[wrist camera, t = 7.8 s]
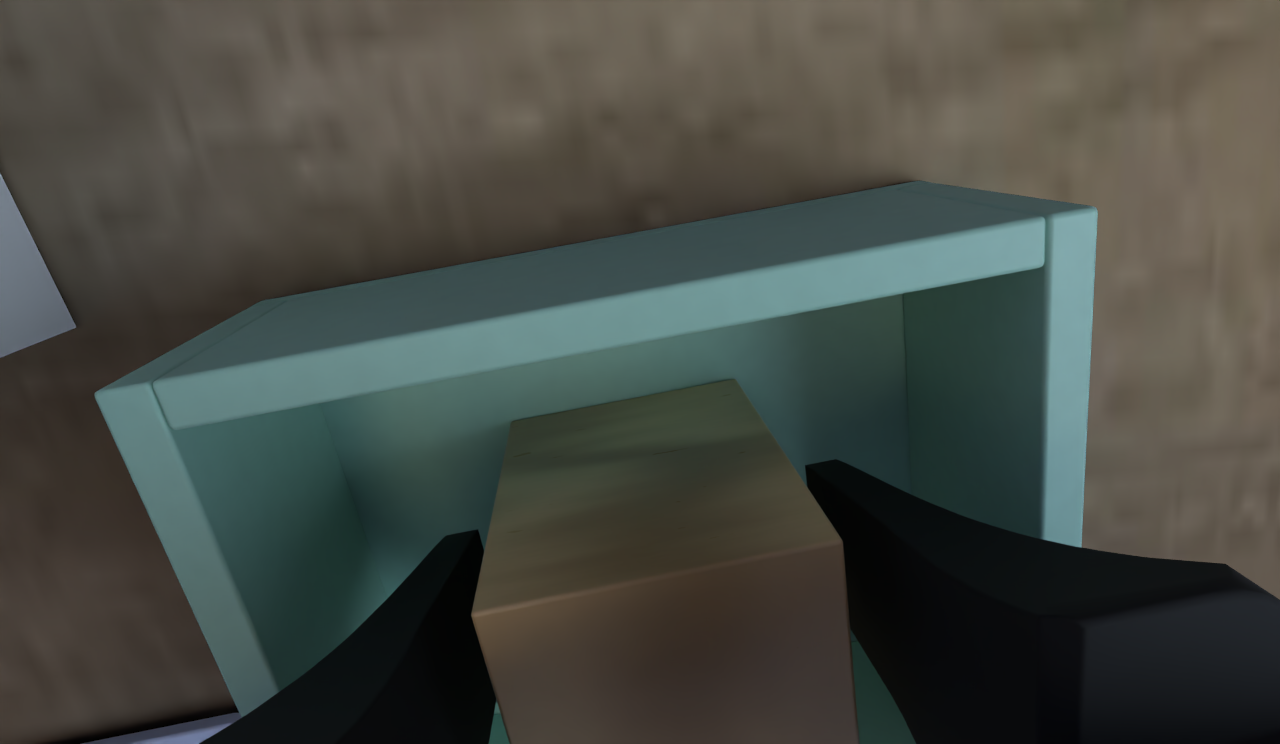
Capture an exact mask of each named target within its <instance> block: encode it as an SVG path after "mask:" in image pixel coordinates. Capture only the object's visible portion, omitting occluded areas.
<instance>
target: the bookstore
mask: <svg viewBox="0 0 1280 744" xmlns="http://www.w3.org/2000/svg"><path fill="white" fill-rule="evenodd" d="M74 328H76V325H75V323H74V321H73V319H72V317H71V315H70V313H69V311H68V309H67V307H66V305H65V303H64V301H63V299H62V297H61V295H60V293H59V291H58V289H57V287H56V285H55V283H54V281H53V279H52V277H51V275H50V273H49V271H48V269H47V267H46V265H45V262H44V260H43V258H42V256H41V254H40V252H39V250H38V248H37V246H36V244H35V242H34V240H33V238H32V236H31V234H30V232H29V230H28V228H27V226H26V224H25V222H24V220H23V218H22V216H21V214H20V212H19V210H18V208H17V206H16V204H15V202H14V200H13V198H12V196H11V194H10V192H9V190H8V188H7V186H6V184H5V182H4V180H3V178H2V176H1V174H0V358H1V357H4V356H6V355H9V354H11V353H14V352H16V351H19V350H21V349H24V348H26V347H29V346H31V345H34V344H36V343H39V342H41V341H44V340H46V339H49V338H51V337H54V336H56V335H59V334H61V333H64V332H66V331H69V330H71V329H74Z"/></svg>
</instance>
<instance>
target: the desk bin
mask: <svg viewBox="0 0 1280 744" xmlns="http://www.w3.org/2000/svg"><path fill="white" fill-rule="evenodd" d="M1097 216H1098V212H1097V209H1096V208H1095V207H1093V206H1088V205H1081V204H1074V203H1067V202H1060V201H1053V200H1046V199H1040V198H1033V197H1026V196H1019V195H1012V194H1005V193H998V192H991V191H985V190H978V189H971V188H964V187H957V186H950V185H943V184H936V183H930V182H926V181H914V182H908V183H903V184H897V185H892V186H886V187H881V188H875V189H870V190H864V191H859V192H854V193H848V194H843V195H837V196H832V197H826V198H821V199H815V200H810V201H804V202H799V203H793V204H788V205H782V206H777V207H772V208H766V209H761V210H755V211H750V212H744V213H739V214H733V215H728V216H722V217H717V218H711V219H706V220H701V221H695V222H690V223H684V224H679V225H673V226H668V227H662V228H657V229H651V230H646V231H640V232H635V233H629V234H624V235H619V236H613V237H608V238H602V239H597V240H591V241H586V242H580V243H575V244H569V245H564V246H558V247H553V248H547V249H542V250H537V251H531V252H526V253H520V254H515V255H509V256H504V257H498V258H493V259H487V260H482V261H476V262H471V263H465V264H460V265H455V266H449V267H444V268H438V269H433V270H427V271H422V272H416V273H411V274H405V275H400V276H394V277H389V278H383V279H378V280H373V281H367V282H362V283H356V284H351V285H345V286H340V287H334V288H329V289H323V290H318V291H312V292H307V293H301V294H296V295H291V296H285V297H280V298H274V299H269V300H263V301H260V302H258V303H256V304H254V305H253V306H251V307H249V308H247V309H245V310H244V311H242V312H240V313H238V314H236V315H235V316H233V317H231V318H229V319H227V320H225V321H224V322H222V323H220V324H218V325H216V326H215V327H213V328H211V329H209V330H207V331H205V332H204V333H202V334H200V335H198V336H196V337H195V338H193V339H191V340H189V341H187V342H185V343H184V344H182V345H180V346H178V347H176V348H175V349H173V350H171V351H169V352H167V353H165V354H164V355H162V356H160V357H158V358H156V359H155V360H153V361H151V362H149V363H147V364H145V365H144V366H142V367H140V368H138V369H136V370H135V371H133V372H131V373H129V374H127V375H125V376H124V377H122V378H120V379H118V380H116V381H115V382H113V383H111V384H109V385H107V386H105V387H104V388H102V389H100V390H98V391H97V392H95V399H96V401H97V403H98V406H99V408H100V410H101V412H102V414H103V417H104V419H105V421H106V423H107V425H108V427H109V430H110V432H111V434H112V436H113V438H114V440H115V443H116V445H117V447H118V449H119V451H120V454H121V456H122V458H123V460H124V462H125V464H126V467H127V469H128V471H129V473H130V475H131V478H132V480H133V482H134V484H135V486H136V488H137V491H138V493H139V495H140V497H141V499H142V502H143V504H144V506H145V508H146V510H147V512H148V515H149V517H150V519H151V521H152V523H153V526H154V528H155V530H156V532H157V534H158V536H159V539H160V541H161V543H162V545H163V547H164V550H165V552H166V554H167V556H168V558H169V560H170V563H171V565H172V567H173V569H174V571H175V574H176V576H177V578H178V580H179V582H180V584H181V587H182V589H183V591H184V593H185V595H186V598H187V600H188V602H189V604H190V606H191V608H192V611H193V613H194V615H195V617H196V619H197V621H198V624H199V626H200V628H201V630H202V632H203V635H204V637H205V639H206V641H207V643H208V645H209V648H210V650H211V652H212V654H213V656H214V659H215V661H216V663H217V665H218V667H219V669H220V672H221V674H222V676H223V678H224V680H225V683H226V685H227V687H228V689H229V691H230V693H231V696H232V698H233V700H234V702H235V704H236V707H237V709H238V711H239V713H240V715H241V717H244V716H245V715H247V714H248V713H250V712H251V711H253V710H254V709H256V708H257V707H259V706H260V705H261V704H263V703H264V702H266V701H267V700H268V699H270V698H271V697H273V696H274V695H275V694H277V693H278V692H280V691H281V690H282V689H284V688H285V687H287V686H288V685H289V684H291V683H292V682H294V681H295V680H296V679H298V678H299V677H301V676H302V675H303V674H305V673H306V672H307V671H308V670H310V669H311V668H312V667H313V666H315V665H316V664H317V663H318V662H320V661H321V660H322V659H323V658H324V657H326V656H327V655H328V654H329V653H330V652H332V651H333V650H334V649H335V648H336V647H337V646H339V645H340V644H341V643H342V642H343V641H344V640H345V639H347V638H348V637H349V636H350V635H351V634H352V633H353V632H354V631H355V630H356V629H357V628H358V627H359V626H360V625H361V624H362V623H363V622H364V621H365V620H366V619H367V618H368V617H369V616H370V615H371V614H372V613H373V612H374V611H375V610H376V609H377V608H378V607H379V606H380V605H381V604H382V603H383V602H384V601H385V600H386V599H388V597H389V596H390V595H391V594H392V593H393V592H394V591H395V590H396V589H397V588H398V587H399V586H400V584H401V583H402V582H403V581H404V580H405V579H406V578H407V577H408V576H409V575H410V574H411V573H412V571H413V570H414V569H415V568H416V567H417V566H418V565H419V564H420V563H421V561H422V560H423V559H424V558H425V557H426V556H427V555H428V554H429V552H430V551H431V550H432V549H433V548H434V547H435V546H436V545H437V544H438V543H439V542H440V541H441V540H442V539H443V538H444V537H445V536H446V535H451V534H456V533H461V532H466V531H471V530H476V529H478V531H479V534H480V538H481V542H482V545H483V549H484V550H485V545H486V540H487V536H488V531H489V526H490V521H491V516H492V511H493V507H494V502H495V497H496V492H497V487H498V482H499V478H500V473H501V468H502V463H503V458H504V453H505V448H506V444H507V439H508V434H509V429H510V424H511V422H512V421H516V420H521V419H527V418H532V417H537V416H542V415H548V414H553V413H558V412H563V411H569V410H574V409H579V408H584V407H590V406H595V405H600V404H605V403H611V402H616V401H621V400H626V399H632V398H637V397H642V396H647V395H653V394H658V393H663V392H668V391H674V390H679V389H684V388H689V387H695V386H700V385H705V384H710V383H716V382H721V381H726V380H731V379H736V380H737V382H738V383H739V385H740V386H741V388H742V389H743V391H744V392H745V394H746V395H747V397H748V398H749V400H750V401H751V403H752V404H753V406H754V407H755V409H756V410H757V412H758V414H759V415H760V417H761V418H762V420H763V421H764V423H765V424H766V426H767V427H768V429H769V430H770V432H771V433H772V435H773V436H774V438H775V439H776V441H777V442H778V444H779V445H780V447H781V448H782V450H783V451H784V453H785V454H786V456H787V457H788V459H789V460H790V462H791V463H792V465H793V466H794V468H795V469H796V471H797V472H798V474H799V475H800V477H801V479H802V480H803V482H804V483H805V485H806V486H807V481H806V471H805V465H809V464H814V463H819V462H824V461H829V460H834V459H837V460H840V461H842V462H845V463H847V464H849V465H851V466H853V467H855V468H857V469H859V470H862V471H864V472H866V473H868V474H870V475H872V476H874V477H876V478H878V479H880V480H882V481H884V482H886V483H888V484H890V485H892V486H894V487H896V488H898V489H901V490H903V491H905V492H907V493H909V494H911V495H914V496H916V497H918V498H920V499H923V500H925V501H927V502H930V503H932V504H934V505H937V506H939V507H942V508H944V509H947V510H949V511H952V512H954V513H957V514H960V515H962V516H965V517H968V518H971V519H973V520H976V521H979V522H983V523H986V524H989V525H992V526H995V527H999V528H1002V529H1005V530H1008V531H1012V532H1015V533H1019V534H1023V535H1027V536H1031V537H1034V538H1039V539H1043V540H1048V541H1052V542H1057V543H1061V544H1066V545H1070V546H1075V547H1081V542H1082V522H1083V501H1084V481H1085V461H1086V440H1087V420H1088V400H1089V379H1090V359H1091V339H1092V318H1093V298H1094V277H1095V257H1096V237H1097ZM850 633H851V645H852V657H853V669H854V681H855V693H856V706H857V718H858V730H859V742H860V744H916V742H915V740H914V738H913V736H912V734H911V732H910V730H909V728H908V726H907V724H906V721H905V719H904V717H903V715H902V714H901V712H900V710H899V708H898V706H897V705H896V703H895V701H894V699H893V697H892V696H891V694H890V692H889V691H888V689H887V687H886V686H885V684H884V683H883V681H882V679H881V678H880V676H879V674H878V673H877V671H876V670H875V668H874V666H873V665H872V663H871V661H870V660H869V658H868V657H867V655H866V653H865V652H864V650H863V648H862V647H861V645H860V644H859V642H858V640H857V639H856V637H855V635H854V634H853V632H852V631H851V629H850ZM489 744H510V743H509V740H508V737H507V733H506V730H505V727H504V723H503V720H502V717H501V713H500V710H499V707H498V703H497V700H496V704H495V710H494V716H493V722H492V727H491V733H490V739H489Z"/></svg>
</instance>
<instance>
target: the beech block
mask: <svg viewBox="0 0 1280 744" xmlns="http://www.w3.org/2000/svg"><path fill="white" fill-rule="evenodd" d="M471 617H472V620H473V623H474V627H475V630H476V633H477V637H478V640H479V643H480V647H481V650H482V653H483V657H484V660H485V663H486V667H487V670H488V673H489V677H490V680H491V683H492V687H493V690H494V693H495V697H496V700H497V703H498V707H499V710H500V713H501V717H502V720H503V723H504V727H505V730H506V733H507V737H508V740H509V743H510V744H860V742H859V730H858V718H857V706H856V693H855V681H854V669H853V657H852V645H851V633H850V621H849V609H848V596H847V584H846V572H845V560H844V548H843V541H842V539H841V537H840V536H839V534H838V533H837V531H836V530H835V528H834V527H833V525H832V524H831V522H830V521H829V519H828V518H827V516H826V515H825V513H824V512H823V510H822V509H821V507H820V506H819V504H818V503H817V501H816V500H815V498H814V497H813V495H812V494H811V492H810V491H809V489H808V488H807V486H806V485H805V483H804V482H803V480H802V479H801V477H800V475H799V474H798V472H797V471H796V469H795V468H794V466H793V465H792V463H791V462H790V460H789V459H788V457H787V456H786V454H785V453H784V451H783V450H782V448H781V447H780V445H779V444H778V442H777V441H776V439H775V438H774V436H773V435H772V433H771V432H770V430H769V429H768V427H767V426H766V424H765V423H764V421H763V420H762V418H761V417H760V415H759V414H758V412H757V410H756V409H755V407H754V406H753V404H752V403H751V401H750V400H749V398H748V397H747V395H746V394H745V392H744V391H743V389H742V388H741V386H740V385H739V383H738V382H737V380H736V379H731V380H726V381H721V382H716V383H710V384H705V385H700V386H695V387H689V388H684V389H679V390H674V391H668V392H663V393H658V394H653V395H647V396H642V397H637V398H632V399H626V400H621V401H616V402H611V403H605V404H600V405H595V406H590V407H584V408H579V409H574V410H569V411H563V412H558V413H553V414H548V415H542V416H537V417H532V418H527V419H521V420H516V421H512V422H511V424H510V429H509V434H508V439H507V444H506V448H505V453H504V458H503V463H502V468H501V473H500V478H499V482H498V487H497V492H496V497H495V502H494V507H493V511H492V516H491V521H490V526H489V531H488V536H487V540H486V545H485V550H484V555H483V560H482V565H481V570H480V574H479V579H478V584H477V589H476V594H475V599H474V603H473V608H472V613H471Z"/></svg>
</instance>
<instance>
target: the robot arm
mask: <svg viewBox="0 0 1280 744" xmlns="http://www.w3.org/2000/svg"><path fill="white" fill-rule="evenodd" d="M805 471H806V481H807V488H808V489H809V491H810V492H811V494H812V495H813V497H814V498H815V500H816V501H817V503H818V504H819V506H820V507H821V509H822V510H823V512H824V513H825V515H826V516H827V518H828V519H829V521H830V522H831V524H832V525H833V527H834V528H835V530H836V531H837V533H838V534H839V536H840V537H841V539H842V541H843V548H844V560H845V572H846V584H847V596H848V609H849V621H850V629H851V631H852V632H853V634H854V635H855V637H856V639H857V640H858V642H859V644H860V645H861V647H862V648H863V650H864V652H865V653H866V655H867V657H868V658H869V660H870V661H871V663H872V665H873V666H874V668H875V670H876V671H877V673H878V674H879V676H880V678H881V679H882V681H883V683H884V684H885V686H886V687H887V689H888V691H889V692H890V694H891V696H892V697H893V699H894V701H895V703H896V705H897V706H898V708H899V710H900V712H901V714H902V715H903V717H904V719H905V721H906V724H907V726H908V728H909V730H910V732H911V734H912V736H913V738H914V740H915V742H916V744H1280V600H1279V599H1278V598H1276V597H1275V596H1273V595H1272V594H1270V593H1268V592H1267V591H1265V590H1264V589H1262V588H1261V587H1259V586H1258V585H1256V584H1255V583H1253V582H1252V581H1250V580H1249V579H1247V578H1246V577H1244V576H1243V575H1241V574H1240V573H1238V572H1237V571H1235V570H1234V569H1232V568H1231V567H1229V566H1228V565H1226V564H1220V563H1207V562H1195V561H1182V560H1170V559H1157V558H1147V557H1139V556H1132V555H1125V554H1118V553H1111V552H1104V551H1098V550H1092V549H1087V548H1081V547H1075V546H1070V545H1066V544H1061V543H1057V542H1052V541H1048V540H1043V539H1039V538H1034V537H1031V536H1027V535H1023V534H1019V533H1015V532H1012V531H1008V530H1005V529H1002V528H999V527H995V526H992V525H989V524H986V523H983V522H979V521H976V520H973V519H971V518H968V517H965V516H962V515H960V514H957V513H954V512H952V511H949V510H947V509H944V508H942V507H939V506H937V505H934V504H932V503H930V502H927V501H925V500H923V499H920V498H918V497H916V496H914V495H911V494H909V493H907V492H905V491H903V490H901V489H898V488H896V487H894V486H892V485H890V484H888V483H886V482H884V481H882V480H880V479H878V478H876V477H874V476H872V475H870V474H868V473H866V472H864V471H862V470H859V469H857V468H855V467H853V466H851V465H849V464H847V463H845V462H842V461H840V460H837V459H834V460H829V461H824V462H819V463H814V464H809V465H805ZM483 555H484V549H483V545H482V542H481V538H480V534H479V531H478V529H476V530H471V531H466V532H461V533H456V534H451V535H446V536H445V537H444V538H443V539H442V540H441V541H440V542H439V543H438V544H437V545H436V546H435V547H434V548H433V549H432V550H431V551H430V552H429V554H428V555H427V556H426V557H425V558H424V559H423V560H422V561H421V563H420V564H419V565H418V566H417V567H416V568H415V569H414V570H413V571H412V573H411V574H410V575H409V576H408V577H407V578H406V579H405V580H404V581H403V582H402V583H401V584H400V586H399V587H398V588H397V589H396V590H395V591H394V592H393V593H392V594H391V595H390V596H389V597H388V599H386V600H385V601H384V602H383V603H382V604H381V605H380V606H379V607H378V608H377V609H376V610H375V611H374V612H373V613H372V614H371V615H370V616H369V617H368V618H367V619H366V620H365V621H364V622H363V623H362V624H361V625H360V626H359V627H358V628H357V629H356V630H355V631H354V632H353V633H352V634H351V635H350V636H349V637H348V638H347V639H345V640H344V641H343V642H342V643H341V644H340V645H339V646H337V647H336V648H335V649H334V650H333V651H332V652H330V653H329V654H328V655H327V656H326V657H324V658H323V659H322V660H321V661H320V662H318V663H317V664H316V665H315V666H313V667H312V668H311V669H310V670H308V671H307V672H306V673H305V674H303V675H302V676H301V677H299V678H298V679H296V680H295V681H294V682H292V683H291V684H289V685H288V686H287V687H285V688H284V689H282V690H281V691H280V692H278V693H277V694H275V695H274V696H273V697H271V698H270V699H268V700H267V701H266V702H264V703H263V704H261V705H260V706H259V707H257V708H256V709H254V710H253V711H251V712H250V713H248V714H247V715H245V716H244V717H241V715H240V713H231V714H226V715H221V716H216V717H211V718H206V719H201V720H196V721H191V722H186V723H181V724H176V725H171V726H166V727H161V728H156V729H151V730H146V731H141V732H136V733H131V734H126V735H121V736H117V737H112V738H107V739H102V740H97V741H92V742H87V743H82V744H489V739H490V733H491V727H492V722H493V716H494V710H495V704H496V697H495V693H494V690H493V687H492V683H491V680H490V677H489V673H488V670H487V667H486V663H485V660H484V657H483V653H482V650H481V647H480V643H479V640H478V637H477V633H476V630H475V627H474V623H473V620H472V617H471V613H472V608H473V603H474V599H475V594H476V589H477V584H478V579H479V574H480V570H481V565H482V560H483Z"/></svg>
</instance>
